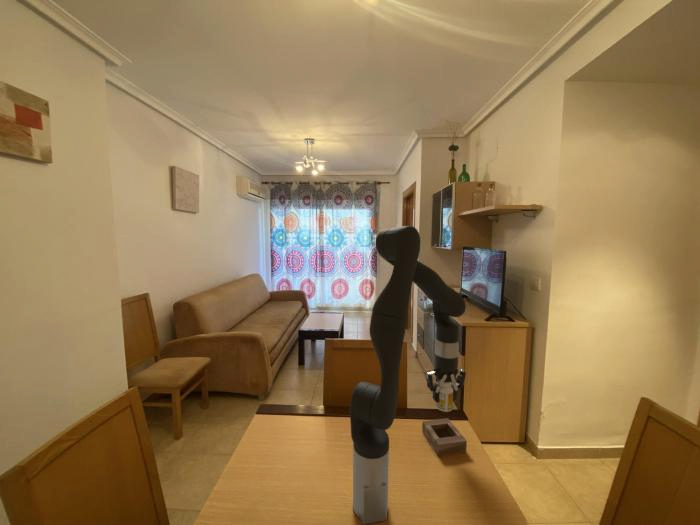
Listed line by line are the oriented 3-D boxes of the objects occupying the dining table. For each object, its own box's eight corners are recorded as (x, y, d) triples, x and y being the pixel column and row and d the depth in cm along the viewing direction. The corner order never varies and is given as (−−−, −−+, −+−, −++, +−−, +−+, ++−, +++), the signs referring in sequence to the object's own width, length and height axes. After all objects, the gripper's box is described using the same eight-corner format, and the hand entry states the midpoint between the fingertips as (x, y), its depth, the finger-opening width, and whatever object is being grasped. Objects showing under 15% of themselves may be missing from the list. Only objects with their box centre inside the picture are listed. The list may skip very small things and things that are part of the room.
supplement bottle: (450, 403, 104) (451, 376, 103) (454, 412, 99) (455, 384, 98) (434, 402, 105) (435, 376, 103) (437, 411, 99) (438, 383, 98)
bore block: (466, 452, 98) (466, 440, 98) (438, 456, 96) (438, 444, 96) (447, 428, 110) (448, 418, 109) (422, 431, 108) (422, 421, 107)
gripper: (431, 359, 94) (429, 409, 96) (472, 355, 97) (470, 404, 99) (421, 349, 102) (420, 396, 104) (459, 346, 105) (457, 392, 106)
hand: (444, 400), depth 101 cm, fingers closed on supplement bottle, 5 cm apart
